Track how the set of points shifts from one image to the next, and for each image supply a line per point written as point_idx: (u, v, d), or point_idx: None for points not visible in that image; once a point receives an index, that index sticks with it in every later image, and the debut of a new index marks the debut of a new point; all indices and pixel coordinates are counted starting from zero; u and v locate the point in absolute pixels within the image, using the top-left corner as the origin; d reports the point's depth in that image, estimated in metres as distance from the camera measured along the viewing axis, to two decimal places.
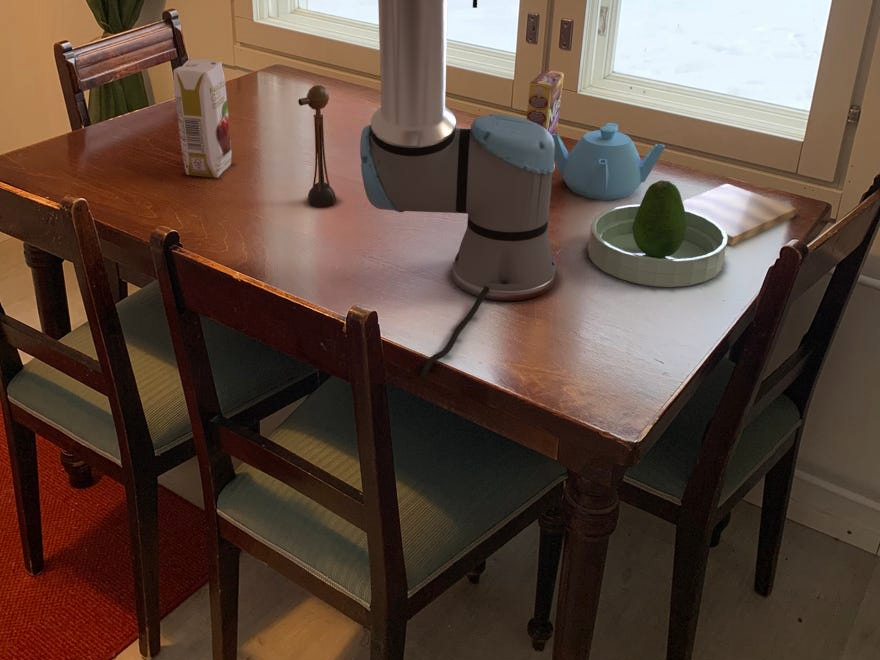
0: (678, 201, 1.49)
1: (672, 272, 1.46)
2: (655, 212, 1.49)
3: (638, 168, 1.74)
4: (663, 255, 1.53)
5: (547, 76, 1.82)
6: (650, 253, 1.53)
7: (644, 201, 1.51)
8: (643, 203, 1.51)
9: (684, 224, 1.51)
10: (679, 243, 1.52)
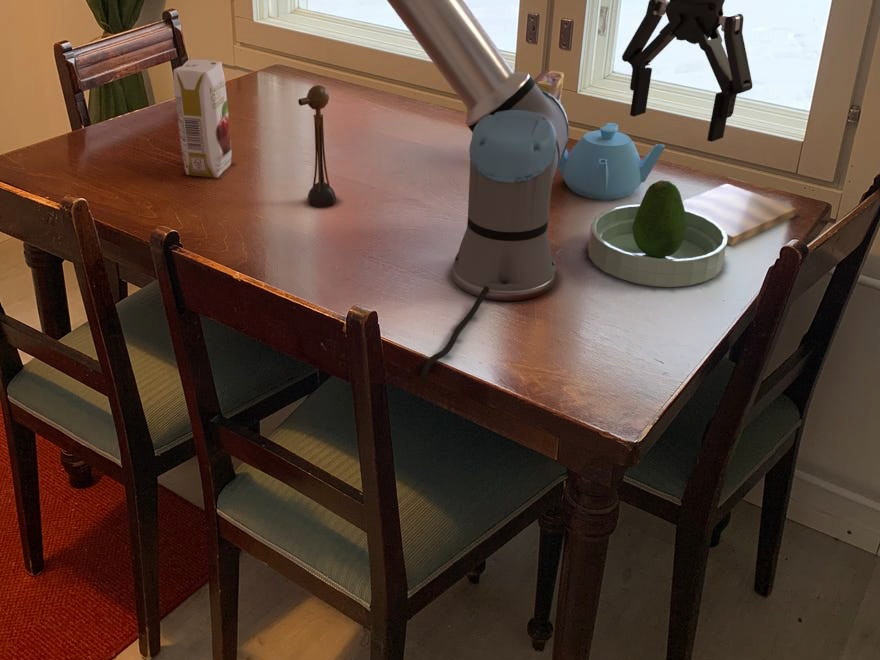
0: (678, 201, 1.49)
1: (672, 272, 1.46)
2: (655, 212, 1.49)
3: (638, 168, 1.74)
4: (663, 255, 1.53)
5: (547, 76, 1.82)
6: (650, 253, 1.53)
7: (644, 201, 1.51)
8: (643, 203, 1.51)
9: (684, 224, 1.51)
10: (679, 243, 1.52)
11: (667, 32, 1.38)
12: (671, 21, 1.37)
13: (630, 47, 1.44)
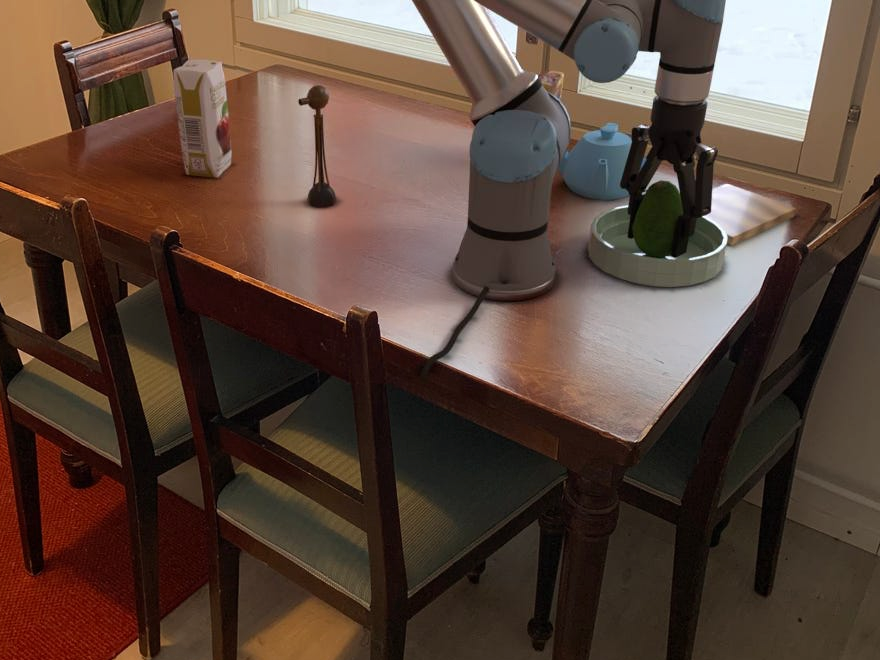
0: (678, 201, 1.49)
1: (672, 272, 1.46)
2: (655, 212, 1.49)
3: None
4: (663, 255, 1.53)
5: (547, 76, 1.82)
6: (650, 253, 1.53)
7: (644, 201, 1.51)
8: (643, 203, 1.51)
9: None
10: None
11: (653, 156, 1.47)
12: (653, 145, 1.46)
13: (625, 175, 1.53)
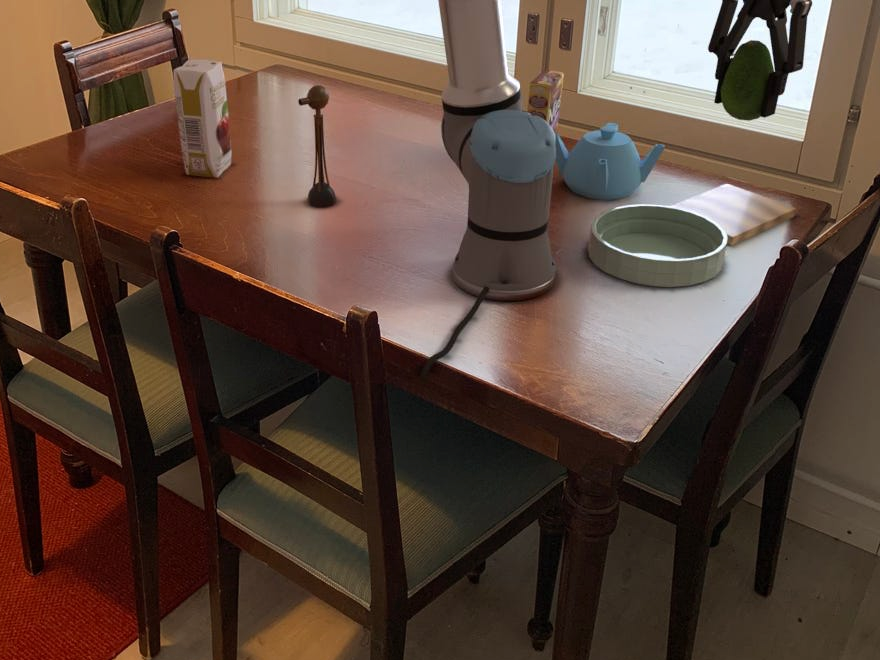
0: (768, 59, 1.51)
1: (672, 272, 1.46)
2: (745, 71, 1.51)
3: (638, 168, 1.74)
4: (751, 116, 1.55)
5: (547, 76, 1.82)
6: (739, 114, 1.55)
7: (734, 61, 1.52)
8: (733, 63, 1.53)
9: None
10: None
11: (744, 13, 1.49)
12: (746, 1, 1.48)
13: (714, 37, 1.55)
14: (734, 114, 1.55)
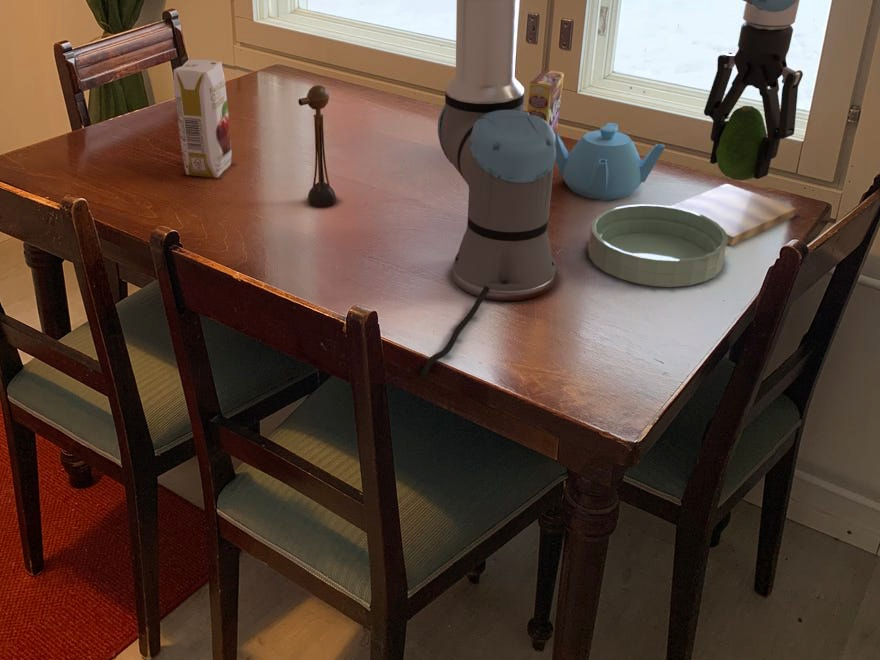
0: (761, 124, 1.59)
1: (672, 272, 1.46)
2: (740, 135, 1.58)
3: (638, 168, 1.74)
4: (745, 177, 1.62)
5: (547, 76, 1.82)
6: (733, 175, 1.62)
7: (729, 125, 1.60)
8: (728, 127, 1.60)
9: None
10: None
11: (738, 81, 1.56)
12: (740, 71, 1.55)
13: (709, 102, 1.62)
14: (729, 175, 1.63)
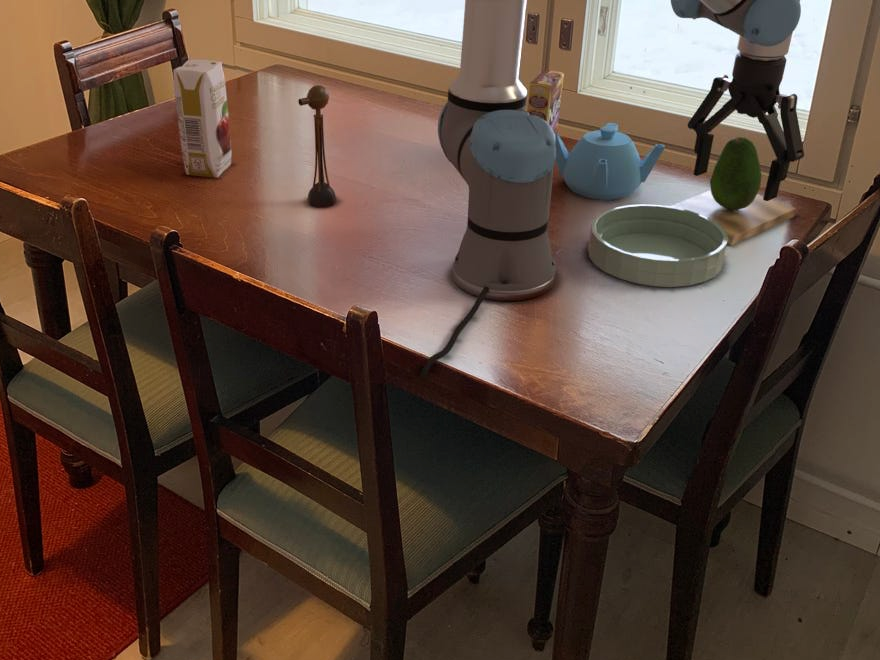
0: (754, 156, 1.61)
1: (672, 272, 1.46)
2: (733, 166, 1.61)
3: (638, 168, 1.74)
4: (739, 207, 1.65)
5: (547, 76, 1.82)
6: (727, 205, 1.65)
7: (722, 156, 1.63)
8: (721, 158, 1.63)
9: (759, 177, 1.63)
10: (754, 195, 1.64)
11: (729, 106, 1.59)
12: (733, 97, 1.58)
13: (695, 117, 1.65)
14: (723, 204, 1.66)
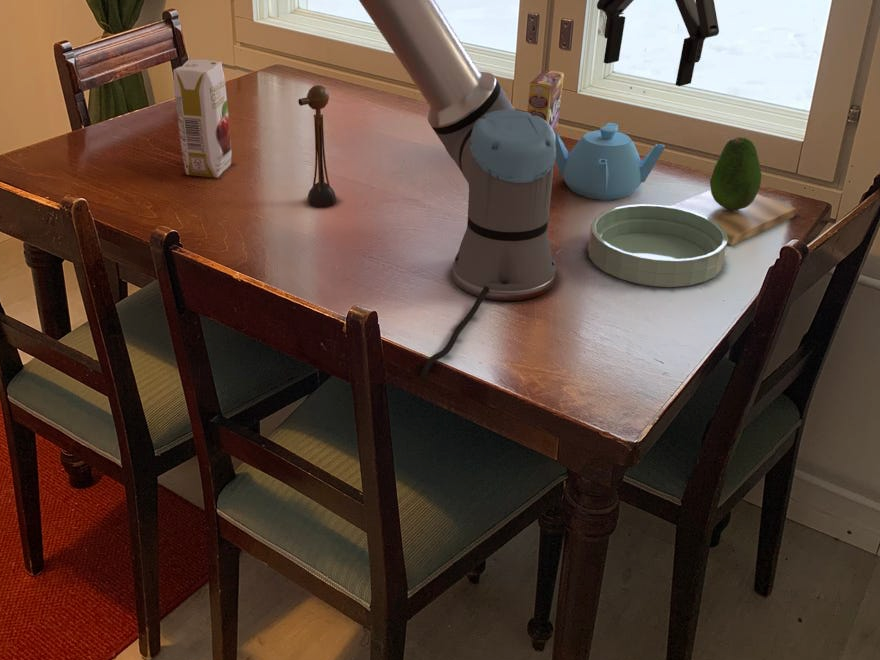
0: (754, 156, 1.61)
1: (672, 272, 1.46)
2: (733, 166, 1.61)
3: (638, 168, 1.74)
4: (739, 207, 1.65)
5: (547, 76, 1.82)
6: (727, 205, 1.65)
7: (722, 156, 1.63)
8: (721, 158, 1.63)
9: (759, 177, 1.63)
10: (754, 195, 1.64)
11: None
12: None
13: None
14: (723, 204, 1.66)
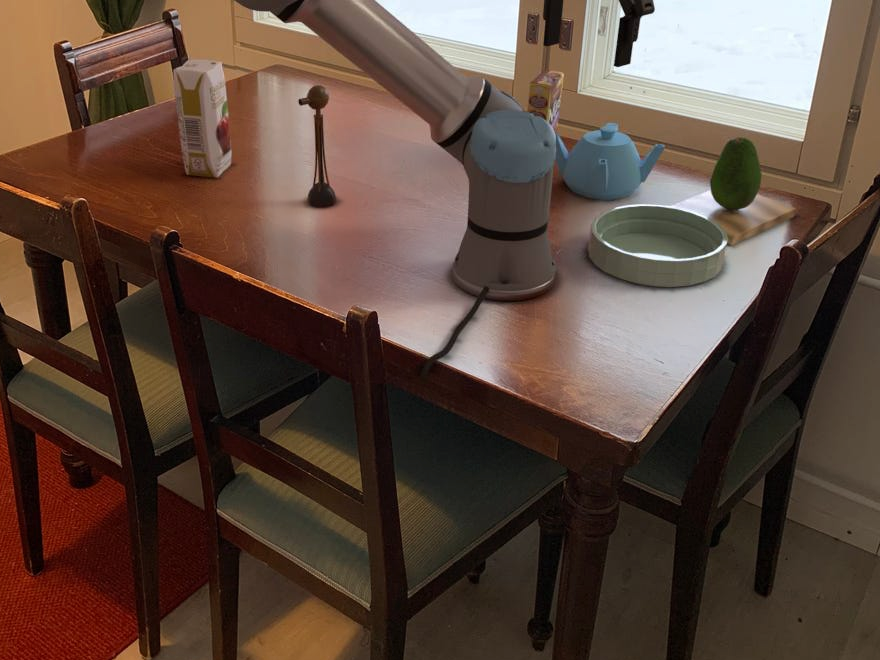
0: (754, 156, 1.61)
1: (672, 272, 1.46)
2: (733, 166, 1.61)
3: (638, 168, 1.74)
4: (739, 207, 1.65)
5: (547, 76, 1.82)
6: (727, 205, 1.65)
7: (722, 156, 1.63)
8: (721, 158, 1.63)
9: (759, 177, 1.63)
10: (754, 195, 1.64)
11: None
12: None
13: None
14: (723, 204, 1.66)
